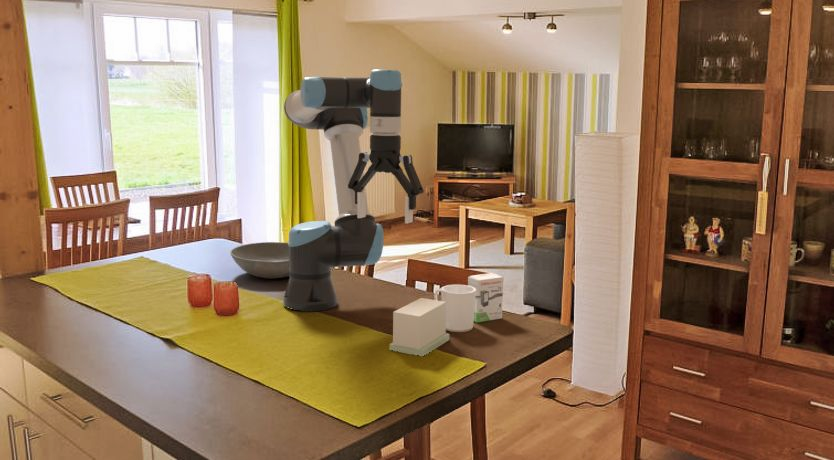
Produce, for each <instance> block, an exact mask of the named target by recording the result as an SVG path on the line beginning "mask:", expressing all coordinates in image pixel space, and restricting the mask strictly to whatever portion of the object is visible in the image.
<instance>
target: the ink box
mask: <svg viewBox="0 0 834 460" xmlns="http://www.w3.org/2000/svg"><path fill="white" fill-rule="evenodd" d="M467 286H471V287H474V288H475V289H476V296H475V309H474V321H473V322H475V323H483V322H488V321H495V320H500V319H502V318H503V295H504V277H503V276H501V275H499V274H496V273H494V272H490V273H482V274H481V273H480V274H475V275H474V274H473V275H469V276H468V277H467Z"/></svg>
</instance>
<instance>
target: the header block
mask: <svg viewBox="0 0 834 460" xmlns="http://www.w3.org/2000/svg"><path fill="white" fill-rule="evenodd" d="M449 340H450V333H447V332H446V333H445V334H443V335H442V336H440V337H438V338H437V339H435V340H434V341H432V342H430V343H429V344H427V345H426V346H424V347H423V348H421V349H414V348H409V347H403V346H398V345H393V341H392V342H391V343H389V351H391V350H393V352H397V351H398V352H399V353H403V354H408V355H412V354H413V355H414V356H417V355H419V357H422V356H424V355H425V356H427V355H428V354H430V353H431V352H433V351H434V350H436V349H438V348H439V347H440V346H442V345H443V344H445V343H446V342H448V341H449ZM432 350H433V351H432ZM398 352H397V353H398ZM429 352H430V353H429ZM426 354H427V355H426ZM413 355H412V356H413ZM425 356H424V357H425Z"/></svg>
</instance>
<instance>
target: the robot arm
mask: <svg viewBox="0 0 834 460" xmlns="http://www.w3.org/2000/svg"><path fill="white" fill-rule="evenodd" d="M369 75H370V76H369V77H345V76H344V77H343V76H342V77H333V76H332V77H326V76H324V77H323V76H316V75H315V76H308V77H307V76H305V77H304V78H302V79H301V84H300V89H298V90H295V91H293V92H291V93H290V94H288V96H287V97H286V99H285V100H284V104H283V111H284V115H285V116H286V118H287V120H289V121H290V122H291V123H292V124H294V125H295V126H297V127H300V128H303V129H307V130H323V135H324V138H326V139H327V140H328V141H330V150H331V151H330V153H331V160H332V167H333V175H334V176H333V177H334V184H335V194H336V200H337V201H336V202H337V210H338V216H337V218H336V219H335V220H334V225H332V224H331V222H330V221H328V220H315V221H314V220H313V221H306V222H301V223H299V224H298V223H297V224H296V225H294V226H292V227H291V228H290V230H289V231H288V232H289V233H288V242H287V243H288V246H289V279H288V282H287V284H286V289H285V292H284V295H283V306H284V305H285V306H286V307H289V308H292V309H295V310H301V311H300V312H320V311H326V310H331V309H333V308H335V307H336V306H337V305H338V295H337V292H336V288H335V286H334V283H333V280H332V271H331V270H332V268H341V267H342V268H343V267H358V266H359V267H361V266H362V267H365V266H368V265H375V264H377V263H378V262H379V261H380V259H381V258H382V253H383V248H384V239H385V238H384V237H385V234H384V228H383V225H382V224H379V223H376V218H375V216H374V215H373V214H372V213H370V212H369V207H368V206H369V205H368V199H367V198H368V197H367V190H366V186H367V185H368V183H369V182H371V180H372V179H373V178H374V176H375V175H376V173H385V174H390V173H391V174H392V175H393V176H394V177H395V178H396V180H397V181H398V183H399V185H400V186H401V187H402V188H403V190H404V192H405V193H406V194H407V196H405V197H404V224H407V225H408V224H410V223H413V222H414V210H416V208H417V197H418V195H421V194H422V195H423V194H424V192H425V191H424V188H423V186H422V183H421V180H420V178H419V176H418V174H417V171H416V168H415V167H414V163H413V156H412V155H411V154H407V155H401V150H402V149H401V145H402V143H401V142H402V139H401V138H402V137H401V135H400V133H401V132H402V88H403V87H402V86H403V84H402V73H401V71H399V70H398V69H372V70H371V71H370V74H369ZM368 109H369V111H370V113H369V115H370V116H369V118H368ZM368 119H370V120H369V121H368ZM368 122H370V123H369V127H370V128H369V131H370V133H371V134H370V136H369V149H370V153H368V152H361V144H360V137H361V136H362V135H363V133H364V130H365V129H366V128H367V127H368V126H367V125H368ZM369 161H370V163H371V164H370V165H369V167H368V168H367V170H366V172H365V173H364V171H365V168H366V166H367V164H368V162H369ZM400 163H401V164H402V165H403V167H404V170H405V172H406V174H405V173H404V172H403V168H402V167H401V165H400ZM286 307H285V308H286ZM295 310H294V311H295Z"/></svg>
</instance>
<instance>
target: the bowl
mask: <svg viewBox="0 0 834 460" xmlns="http://www.w3.org/2000/svg"><path fill="white" fill-rule="evenodd" d="M230 256H231V258H232V259H233V261H234V262H235V263H236V265H237V266H238V267H239V268H241V269H242V270H243V271H244V272H246V273H247V274H250V275H252V276H254V277H256V278H262V279H273V280H274V279H281V278H283V279H284V278H288V277H289V246H288V242H280V241H267V242H266V241H265V242H255V243H248V244H242V245H239V246H236V247H234V248H232V249H231V250H230Z"/></svg>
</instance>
